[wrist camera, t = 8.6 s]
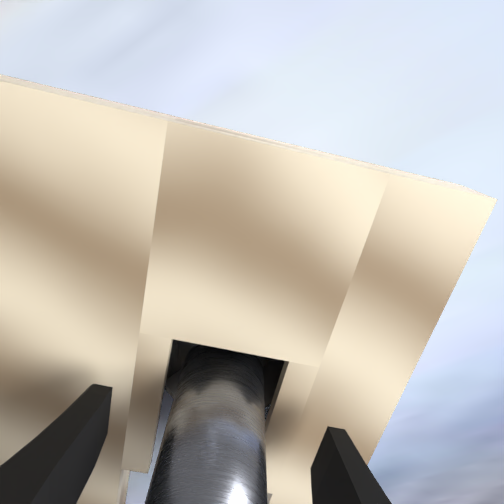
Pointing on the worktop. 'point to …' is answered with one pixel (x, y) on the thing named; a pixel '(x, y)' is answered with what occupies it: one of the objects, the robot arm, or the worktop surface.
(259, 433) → the peg
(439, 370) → the worktop surface
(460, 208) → the keyhole board
